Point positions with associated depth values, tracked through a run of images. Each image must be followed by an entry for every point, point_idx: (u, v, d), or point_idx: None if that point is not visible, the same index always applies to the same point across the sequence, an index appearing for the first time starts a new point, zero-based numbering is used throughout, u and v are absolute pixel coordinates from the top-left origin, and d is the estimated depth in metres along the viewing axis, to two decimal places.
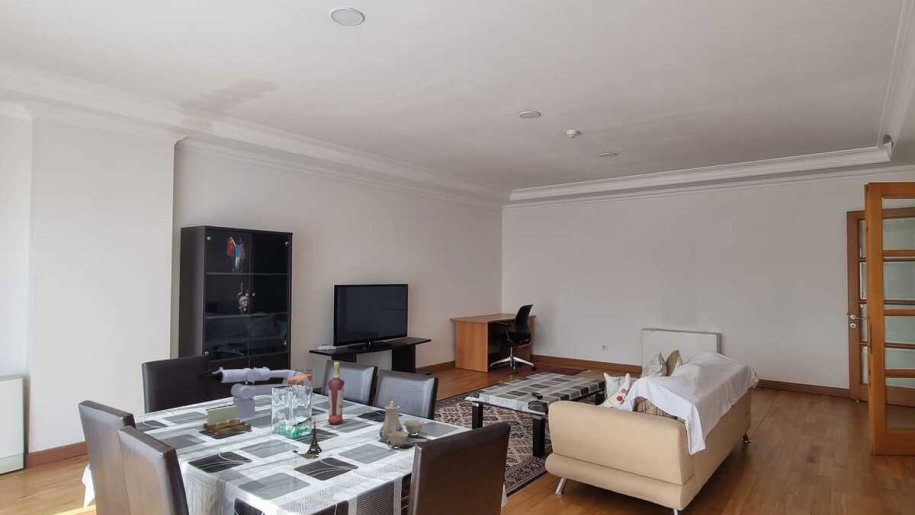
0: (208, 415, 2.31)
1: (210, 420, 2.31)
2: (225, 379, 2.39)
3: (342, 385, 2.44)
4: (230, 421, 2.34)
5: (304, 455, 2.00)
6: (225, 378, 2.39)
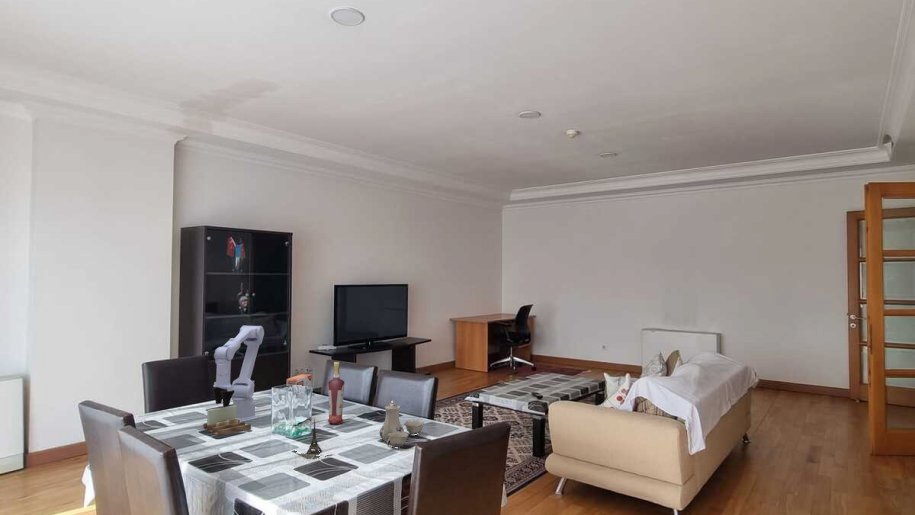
0: (208, 415, 2.31)
1: (210, 420, 2.31)
2: (231, 389, 2.31)
3: (342, 385, 2.44)
4: (230, 421, 2.34)
5: (304, 455, 2.00)
6: (230, 389, 2.31)
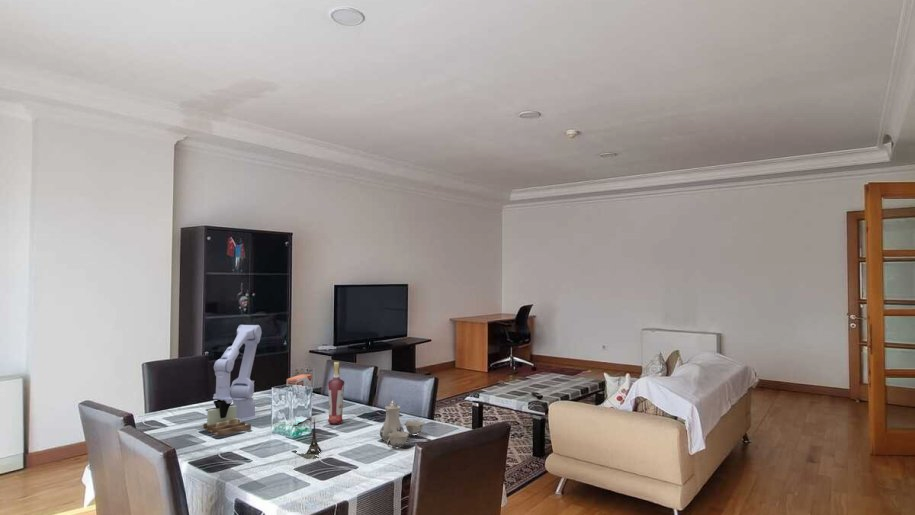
0: (208, 415, 2.31)
1: (210, 420, 2.31)
2: (230, 401, 2.31)
3: (342, 385, 2.44)
4: (230, 421, 2.34)
5: (304, 455, 2.00)
6: (229, 401, 2.31)
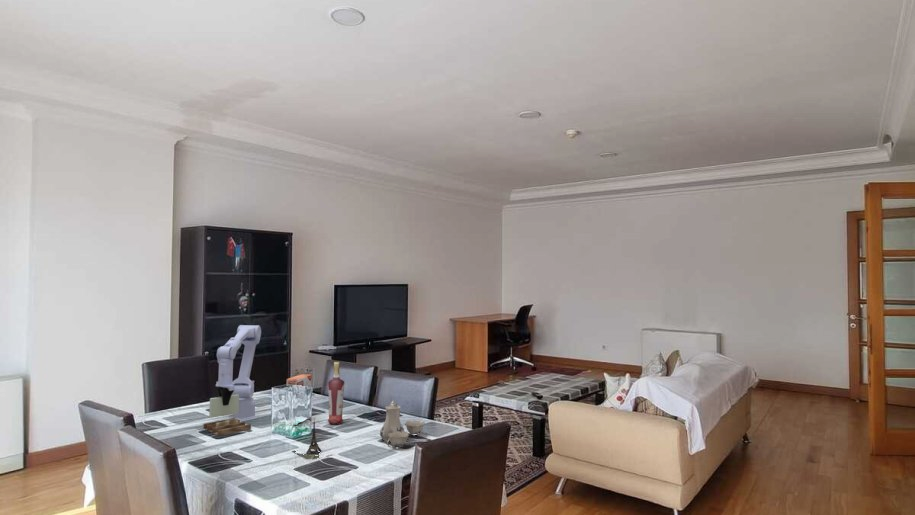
0: (210, 403, 2.30)
1: (212, 409, 2.29)
2: (233, 388, 2.30)
3: (342, 385, 2.44)
4: (230, 421, 2.34)
5: (303, 455, 1.99)
6: (232, 388, 2.29)
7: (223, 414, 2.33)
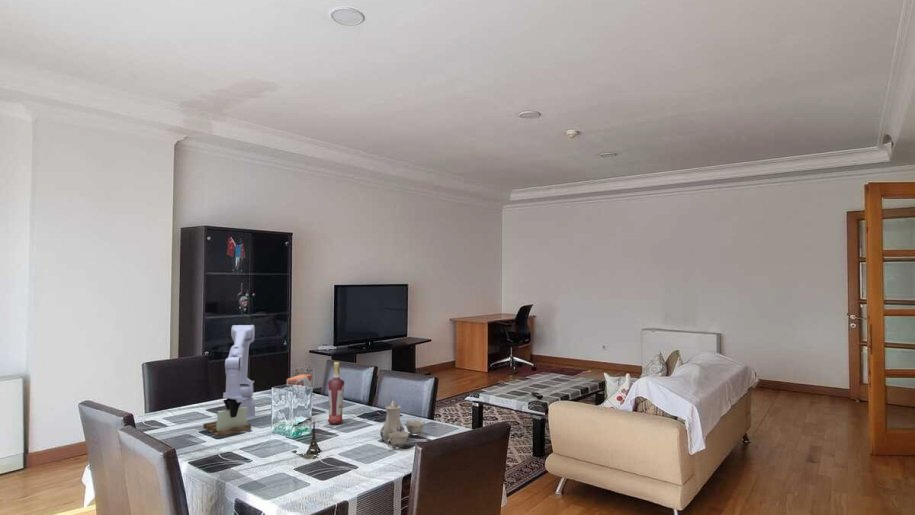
0: (218, 417, 2.24)
1: (220, 422, 2.24)
2: (241, 400, 2.24)
3: (342, 385, 2.44)
4: None
5: (303, 455, 1.99)
6: (240, 400, 2.24)
7: (231, 427, 2.27)
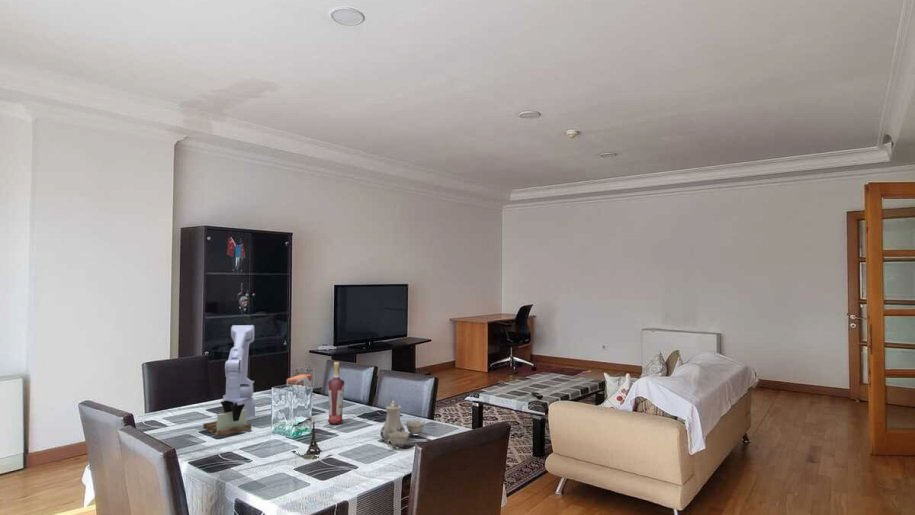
0: (218, 419, 2.24)
1: (220, 425, 2.24)
2: (241, 402, 2.24)
3: (342, 385, 2.44)
4: None
5: (303, 456, 1.99)
6: (240, 403, 2.24)
7: None
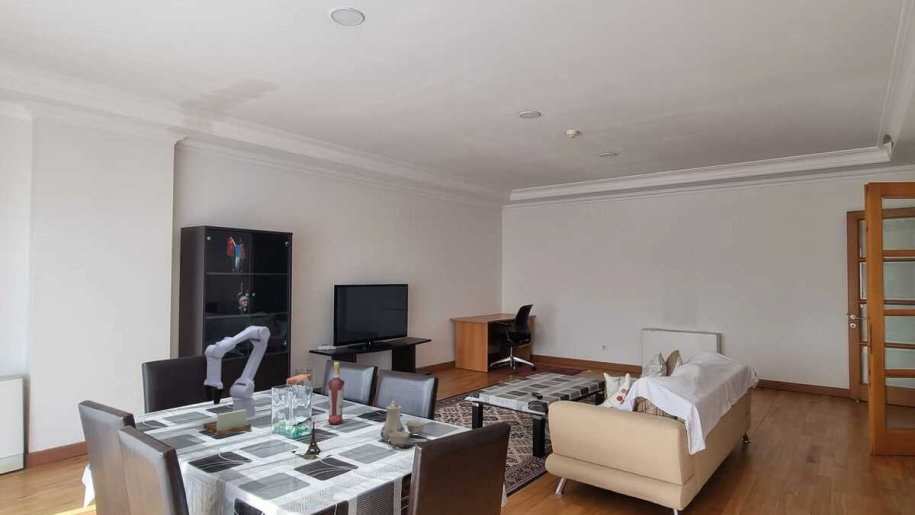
0: (218, 419, 2.24)
1: (220, 425, 2.24)
2: (221, 386, 2.33)
3: (342, 385, 2.44)
4: None
5: (303, 456, 1.99)
6: (220, 387, 2.33)
7: None
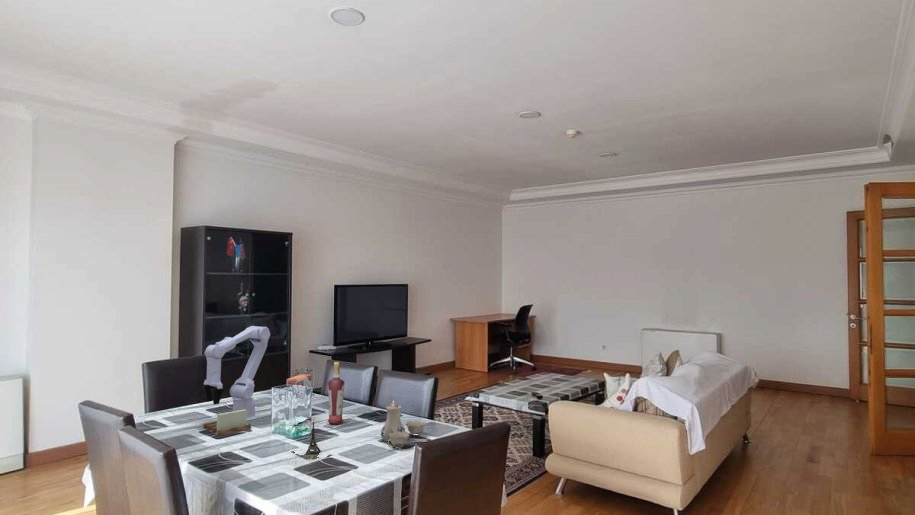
0: (218, 419, 2.24)
1: (220, 425, 2.24)
2: (221, 386, 2.33)
3: (342, 385, 2.44)
4: None
5: (303, 456, 1.99)
6: (220, 387, 2.33)
7: None
